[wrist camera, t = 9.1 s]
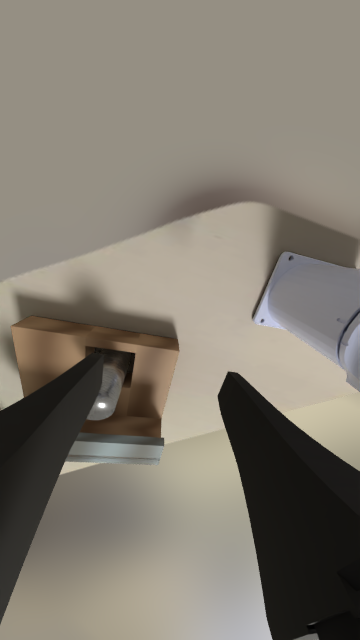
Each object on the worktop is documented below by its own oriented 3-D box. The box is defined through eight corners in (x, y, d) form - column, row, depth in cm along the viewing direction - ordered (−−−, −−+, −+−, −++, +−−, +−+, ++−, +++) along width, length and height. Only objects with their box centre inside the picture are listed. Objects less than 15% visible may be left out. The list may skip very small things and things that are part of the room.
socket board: (177, 339, 20) (183, 382, 14) (160, 408, 25) (158, 464, 18) (30, 315, 18) (-47, 355, 11) (41, 397, 22) (-10, 458, 16)
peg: (131, 368, 21) (116, 420, 15) (102, 367, 21) (74, 420, 15) (130, 344, 20) (113, 390, 14) (99, 342, 20) (66, 389, 13)
